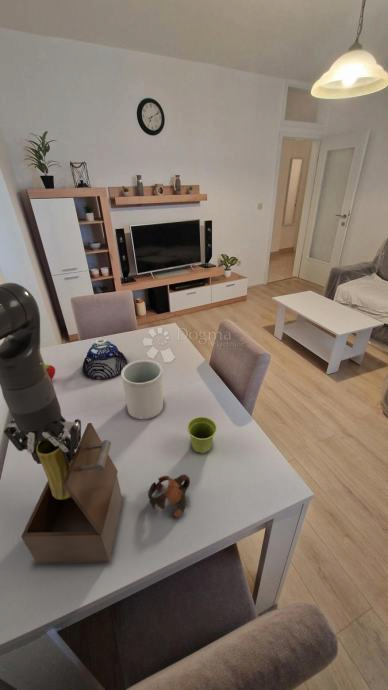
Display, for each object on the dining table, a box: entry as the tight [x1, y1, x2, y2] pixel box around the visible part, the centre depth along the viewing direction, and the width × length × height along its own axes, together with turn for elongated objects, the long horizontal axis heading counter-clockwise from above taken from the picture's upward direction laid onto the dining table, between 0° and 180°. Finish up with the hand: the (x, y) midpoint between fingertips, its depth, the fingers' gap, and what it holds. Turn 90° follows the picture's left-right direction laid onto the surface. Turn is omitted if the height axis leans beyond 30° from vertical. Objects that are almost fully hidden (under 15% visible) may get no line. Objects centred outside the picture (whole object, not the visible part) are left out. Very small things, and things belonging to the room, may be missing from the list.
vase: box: [36, 437, 72, 500], centre depth 59 cm, size 6×6×14 cm
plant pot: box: [186, 416, 218, 454], centre depth 90 cm, size 9×9×9 cm
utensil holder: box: [120, 359, 164, 420], centre depth 104 cm, size 15×15×18 cm
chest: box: [20, 475, 123, 564], centre depth 67 cm, size 17×15×12 cm
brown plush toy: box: [147, 474, 191, 519], centre depth 75 cm, size 12×10×8 cm
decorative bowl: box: [82, 338, 128, 381], centre depth 128 cm, size 20×20×14 cm
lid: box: [62, 422, 118, 534], centre depth 59 cm, size 18×15×6 cm
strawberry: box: [44, 362, 56, 381], centre depth 120 cm, size 6×8×10 cm
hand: (55, 459), depth 58 cm, fingers closed on vase, 5 cm apart
